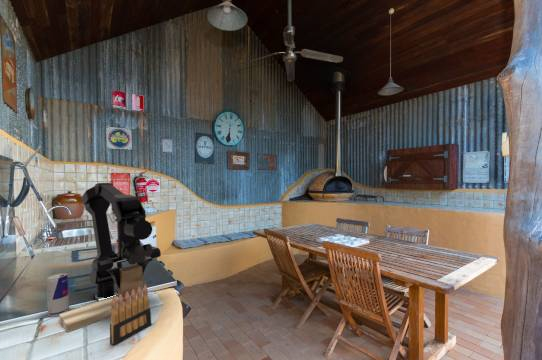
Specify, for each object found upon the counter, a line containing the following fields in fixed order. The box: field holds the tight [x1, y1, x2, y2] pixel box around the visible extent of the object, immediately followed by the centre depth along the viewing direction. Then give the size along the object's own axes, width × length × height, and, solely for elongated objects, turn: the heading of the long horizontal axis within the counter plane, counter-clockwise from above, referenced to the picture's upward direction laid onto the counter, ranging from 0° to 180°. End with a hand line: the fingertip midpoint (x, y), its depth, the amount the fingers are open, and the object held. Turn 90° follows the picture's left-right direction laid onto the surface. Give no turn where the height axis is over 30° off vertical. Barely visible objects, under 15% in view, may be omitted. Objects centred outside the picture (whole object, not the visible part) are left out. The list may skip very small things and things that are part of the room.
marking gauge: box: [117, 263, 144, 298], centre depth 86 cm, size 13×6×8 cm, turn 49°
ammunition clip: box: [109, 283, 152, 347], centre depth 71 cm, size 11×2×12 cm, turn 150°
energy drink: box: [46, 272, 70, 318], centre depth 84 cm, size 5×5×12 cm
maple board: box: [58, 293, 143, 333], centre depth 84 cm, size 10×22×2 cm, turn 139°
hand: (129, 284), depth 84 cm, fingers closed on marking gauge, 6 cm apart
